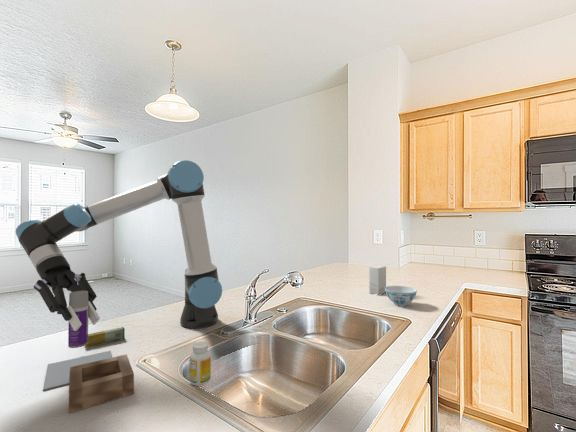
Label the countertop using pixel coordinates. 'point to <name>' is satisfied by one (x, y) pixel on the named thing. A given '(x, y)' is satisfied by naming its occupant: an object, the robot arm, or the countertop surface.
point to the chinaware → (400, 294)
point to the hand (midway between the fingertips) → (87, 324)
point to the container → (80, 307)
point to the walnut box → (100, 382)
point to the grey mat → (68, 369)
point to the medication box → (105, 337)
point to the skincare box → (377, 279)
